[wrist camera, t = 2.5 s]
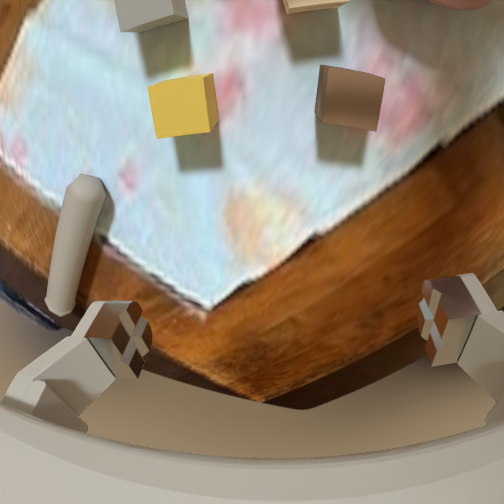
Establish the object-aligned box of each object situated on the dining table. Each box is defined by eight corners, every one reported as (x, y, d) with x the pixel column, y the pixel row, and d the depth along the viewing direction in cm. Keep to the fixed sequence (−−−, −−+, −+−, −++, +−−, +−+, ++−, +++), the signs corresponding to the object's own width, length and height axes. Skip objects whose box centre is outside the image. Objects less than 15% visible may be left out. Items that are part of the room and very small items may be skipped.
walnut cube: (320, 64, 26) (328, 67, 22) (368, 73, 26) (385, 78, 22) (314, 111, 29) (321, 122, 25) (361, 118, 29) (376, 131, 25)
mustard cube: (164, 80, 28) (147, 87, 24) (213, 73, 27) (203, 77, 23) (171, 125, 31) (156, 138, 27) (218, 119, 30) (210, 132, 26)
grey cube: (133, -8, 22) (111, -14, 18) (180, -23, 21) (164, -34, 17) (141, 32, 25) (120, 31, 21) (188, 18, 24) (174, 14, 20)
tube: (60, 172, 30) (39, 299, 43) (88, 199, 30) (60, 321, 43) (92, 162, 35) (60, 284, 48) (119, 185, 35) (80, 304, 48)
